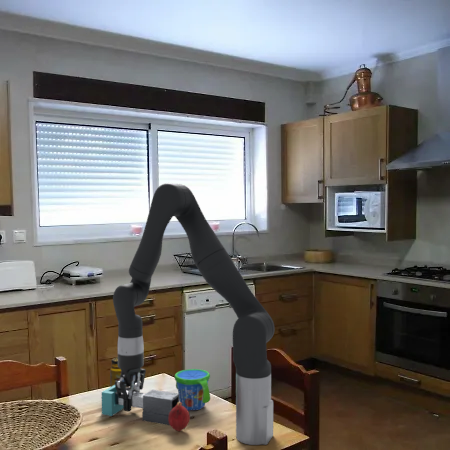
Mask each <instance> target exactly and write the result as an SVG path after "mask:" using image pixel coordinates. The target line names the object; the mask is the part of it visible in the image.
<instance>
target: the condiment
mask: <svg viewBox="0 0 450 450" xmlns="http://www.w3.org/2000/svg"><path fill="white" fill-rule="evenodd" d="M110 362H111V367H110V374H109V375H110V378H109V379H110V387H112V386H113V385H115V381H119V380H120V378H121V377H120V376H121V369H120V368H119V367H118V356H117V357H113V358H112V359H111V361H110ZM126 387H129V386H126ZM101 399H102V396H101Z"/></svg>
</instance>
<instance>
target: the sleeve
mask: <svg viewBox="0 0 450 450" xmlns="http://www.w3.org/2000/svg"><path fill="white" fill-rule="evenodd" d="M145 393H146V394H145V395H143V408H142V412H141V413H142V415H141V416H142V419H141V420H142V421H144V422H148V423H149V422H150V423H153V424H154V423H155V424H158V425H165V426H170V424H169V421H168V417H169V413H170V411H171V410H172V409H173V408H174V407H175V406H176V405H177V403H178V402H180V401H179V394H178V392H169V391H163V390H157V389H151V390H149V391H148V392H145Z"/></svg>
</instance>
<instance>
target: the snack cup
mask: <svg viewBox="0 0 450 450" xmlns="http://www.w3.org/2000/svg"><path fill="white" fill-rule="evenodd" d="M210 378H211V374H210V373H209V371H207V370H205V369H199V368H189V369H183V370H179V371H177V372H176V373H175V374H174V380H175V388H176V390H177V393H178V394H179V402H181V403H182V404H181V405H182V406H184V407H185V408H186V409H187V410H188V412H189V411H199V410H201V409H203V408H204V407H205V406H206V404H207V403H209V402H210V401H211V393H210V390H209V381H210Z"/></svg>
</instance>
